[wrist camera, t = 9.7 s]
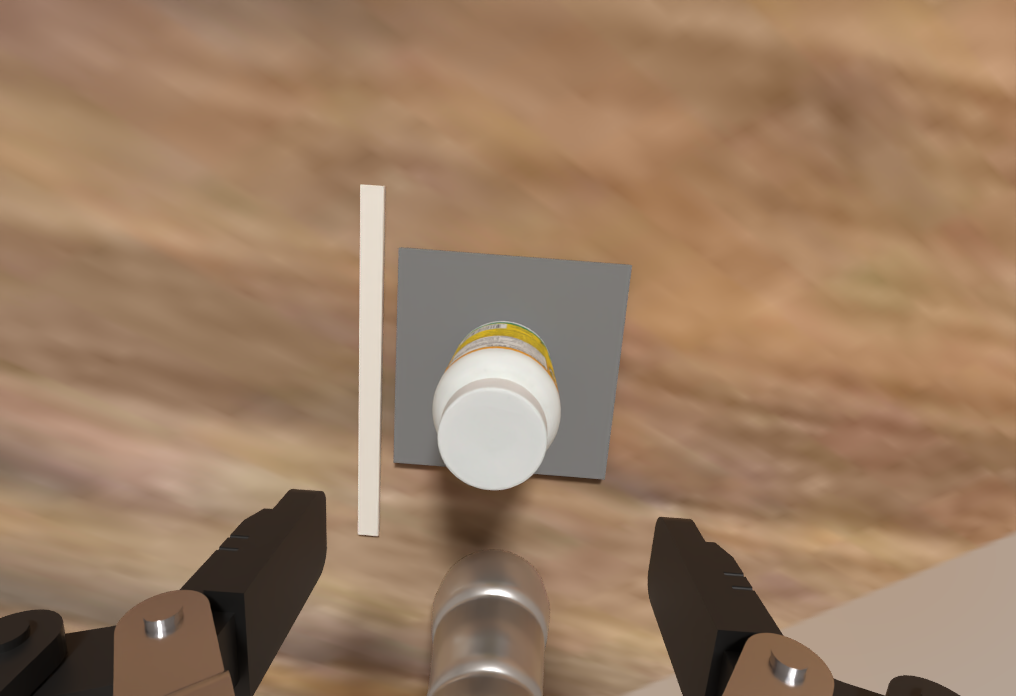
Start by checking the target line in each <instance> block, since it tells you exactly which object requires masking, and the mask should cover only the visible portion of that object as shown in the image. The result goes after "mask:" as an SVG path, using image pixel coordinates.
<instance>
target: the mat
mask: <svg viewBox="0 0 1016 696" xmlns="http://www.w3.org/2000/svg"><path fill="white" fill-rule="evenodd" d="M631 269H632V265H626V264H613V263H599V262H586V261H573V260H560V259H547V258H534V257H520V256H507V255H494V254H481V253H468V252H455V251H441V250H428V249H415V248H402V247H401V248H399V259H398V301H397V342H396V383H395V425H394V462H395V463H407V464H420V465H432V466H444V467H447V466H446V465H445V463H444V461H443V459H442V457H441V454H440V452H439V447H438V440H437V432H436V429H435V426H434V421H433V413H432V406H433V398H434V394H435V391H436V388H437V385H438V383H439V381H440V379H441V377H442V376H443V374H444V372H445V370H446V368H447V367H448V365H449V363H450V361H451V359H452V357H453V355H454V354H455V352H456V350H457V348H458V346H459V344H460V343H461V341H462V340H463V339H464V338H465V337H466V336H467V335H468V334H469V333H470V332H471V331H473V330H474V329H476V328H477V327H479V326H481V325H484V324H487V323H490V322H495V321H509V322H514V323H518V324H521V325H523V326H525V327H527V328H529V329H531V330H532V331H533V332H535V333H536V334H537V335H538V336H539V337H540V338H541V339H542V341H543V342H544V344H545V345H546V347H547V349H548V352H549V355H550V358H551V361H552V365H553V370H554V374H555V378H556V383H557V387H558V393H559V398H560V406H561V417H560V424H559V428H558V431H557V434H556V436H555V438H554V440H553V442H552V444H551V445H550V447H549V448H548V449H547V450H546V453H545V456H544V459H543V461H542V463H541V464H540V466H539V468H538V469H537V470H536V472H535V473H534V474H543V475H556V476H568V477H581V478H593V479H605V473H606V465H607V457H608V449H609V441H610V434H611V426H612V418H613V410H614V402H615V394H616V386H617V379H618V371H619V363H620V355H621V347H622V339H623V331H624V324H625V316H626V308H627V300H628V292H629V284H630V276H631Z"/></svg>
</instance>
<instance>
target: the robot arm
mask: <svg viewBox="0 0 1016 696" xmlns="http://www.w3.org/2000/svg"><path fill="white" fill-rule="evenodd" d="M326 551H327V538H326V497H325V494H324V492H323V491H312V490H299V489H291V490H289V491H288V492H287V493H286V494H285V496H284V497H283V498H282V499H281V500H280V501H279V503H278V504H277V505H276V506H275V507H274V508H273V509H263V510H261V511H259V512H257V513H256V514H254V515H252V516H250V517H249V518H247V519H245V520H244V521H243V522H242V523H241V524H240V525H239V526H238V527H237V528H236V529H235V531H234V532H233V533H232V534H231V536H230V538H227V539H226V540H225V541H224V542H223V543H222V545H221V546H220V547H219V550H216V551H215V552H214V553H213V554H212V555H211V556H210V558H209V559H208V560H207V561H206V562H205V563H204V564H203V565H202V566H201V567H200V568H199V569H198V570H197V572H196V573H195V574H194V575H193V576H192V577H191V578H190V579H189V580H188V581H187V582H186V583H185V585H184V586H183V587H182V588H181V589H180V590H176V591H170V592H166V593H162V594H159V595H156V596H153V597H151V598H149V599H146V600H144V601H143V602H141V603H139V604H137V605H136V606H134V607H133V608H132V609H130V610H129V611H128V612H127V613H126V614H125V615H124V616H123V617H122V618H121V619H120V620H119V622H118V623H117V625H116V626H111V627H105V628H99V629H92V630H86V631H80V632H74V633H67V634H65V631H64V625H63V620H62V617H61V616H60V615H59V614H58V613H56V612H54V611H50V610H29V611H23V612H19V613H15V614H11V615H8V616H5V617H2V618H0V696H253V695H254V693H255V691H256V690H257V688H258V686H259V684H260V682H261V681H262V679H263V677H264V675H265V674H266V672H267V670H268V668H269V666H270V665H271V663H272V661H273V659H274V658H275V656H276V654H277V652H278V650H279V649H280V647H281V645H282V643H283V642H284V640H285V638H286V636H287V634H288V633H289V631H290V629H291V627H292V626H293V624H294V622H295V620H296V618H297V617H298V615H299V613H300V611H301V610H302V608H303V606H304V604H305V602H306V601H307V599H308V597H309V595H310V594H311V592H312V590H313V588H314V586H315V585H316V583H317V581H318V579H319V577H320V575H321V573H322V570H323V567H324V563H325V559H326ZM648 593H649V599H650V603H651V606H652V608H653V611H654V614H655V617H656V620H657V623H658V626H659V629H660V631H661V634H662V637H663V640H664V643H665V646H666V649H667V651H668V654H669V657H670V660H671V663H672V666H673V669H674V672H675V674H676V677H677V680H678V683H679V686H680V689H681V692H682V694H683V696H884V695H881V694H878V693H875V692H872V691H869V690H866V689H863V688H859V687H856V686H853V685H850V684H847V683H844V682H841V681H838V680H836V679H834V678H833V676H832V673H831V671H830V670H829V668H828V667H827V665H826V664H825V663H824V662H823V660H822V659H821V658H820V657H819V656H818V655H817V654H815V653H814V652H813V651H811V650H810V649H809V648H807V647H806V646H804V645H803V644H801V643H799V642H797V641H795V640H793V639H791V638H788V637H785V636H783V634H782V633H781V631H780V630H779V628H778V627H777V625H776V623H775V622H774V620H773V619H772V617H771V616H770V614H769V613H768V611H767V609H766V608H765V606H764V605H763V603H762V602H761V600H760V599H759V597H758V595H757V594H756V592H755V591H753V590H752V586H751V585H750V583H749V581H748V580H747V578H746V577H744V576H743V572H742V571H741V569H740V567H739V566H738V564H737V563H736V561H735V560H734V558H733V557H732V556H731V555H730V554H728V553H727V552H726V551H725V550H723V549H722V548H721V547H720V546H719V545H717V544H716V543H714V542H705V540H704V539H703V537H702V535H701V533H700V532H699V530H698V528H697V527H696V525H695V523H694V522H693V520H691V519H682V518H669V517H659V518H658V519H657V522H656V526H655V532H654V538H653V545H652V551H651V558H650V564H649V571H648ZM885 696H960V695H958V694H957V693H955V692H953V691H951V690H950V689H948V688H946V687H944V686H942V685H940V684H938V683H935V682H933V681H930V680H927V679H924V678H920V677H915V676H907V675H904V676H898V677H895V678H893V679H892V680H891V681H890V683H889V686H888V689H887V692H886V695H885Z"/></svg>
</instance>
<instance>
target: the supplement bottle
mask: <svg viewBox="0 0 1016 696" xmlns="http://www.w3.org/2000/svg"><path fill="white" fill-rule="evenodd" d="M432 413H433V421H434V426H435V429H436V432H437V440H438V447H439V452H440V454H441V457H442V459H443V461H444V463H445V465H446V466H447V468H448V469H449V470H450V471H451V472H452V473H453V474H454V475H455V476H456V477H457V478H458V479H460V480H461V481H463V482H464V483H466V484H468V485H471V486H473V487H476V488H479V489H484V490H504V489H508V488H512V487H514V486H517V485H519V484H521V483H523V482H524V481H526V480H527V479H528V478H529V477H531V476H532V475H533V474H534V473H535V472H536V470H537V469H538V468H539V466H540V464H541V463H542V461H543V459H544V456H545V453H546V450H547V449H548V448H549V447H550V445H551V444H552V442H553V440H554V438H555V436H556V434H557V431H558V428H559V424H560V417H561V406H560V398H559V393H558V387H557V383H556V378H555V374H554V370H553V365H552V361H551V358H550V355H549V352H548V349H547V347H546V345H545V344H544V342H543V341H542V339H541V338H540V337H539V336H538V335H537V334H536V333H535V332H533V331H532V330H531V329H529V328H527V327H525V326H523V325H521V324H518V323H514V322H509V321H495V322H490V323H487V324H484V325H481V326H479V327H477V328H476V329H474V330H473V331H471V332H470V333H469V334H468V335H467V336H466V337H465V338H464V339H463V340H462V341H461V343H460V344H459V346H458V348H457V350H456V352H455V354H454V355H453V357H452V359H451V361H450V363H449V365H448V367H447V368H446V370H445V372H444V374H443V376H442V377H441V379H440V381H439V383H438V385H437V388H436V391H435V394H434V398H433V406H432Z"/></svg>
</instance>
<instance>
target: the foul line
mask: <svg viewBox="0 0 1016 696" xmlns="http://www.w3.org/2000/svg"><path fill="white" fill-rule="evenodd" d="M385 188H386V187H385V186H374V185H361V184H360V319H359V459H358V534H359V535H371V536H378V535H379V524H380V468H381V412H382V356H383V300H384V244H385Z"/></svg>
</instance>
